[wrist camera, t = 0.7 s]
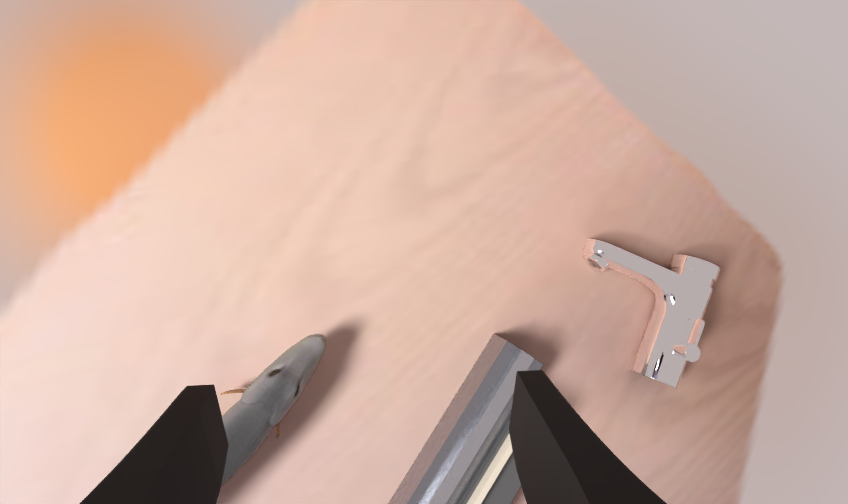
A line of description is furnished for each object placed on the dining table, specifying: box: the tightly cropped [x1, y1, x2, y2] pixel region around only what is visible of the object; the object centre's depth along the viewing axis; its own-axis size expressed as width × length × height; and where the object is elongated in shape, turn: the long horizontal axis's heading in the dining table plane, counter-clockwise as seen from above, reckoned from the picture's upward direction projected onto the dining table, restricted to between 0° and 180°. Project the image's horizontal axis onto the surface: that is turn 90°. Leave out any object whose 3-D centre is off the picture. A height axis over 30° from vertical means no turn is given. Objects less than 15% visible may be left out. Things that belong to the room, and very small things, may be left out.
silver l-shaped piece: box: [583, 239, 720, 388], centre depth 37 cm, size 10×4×9 cm
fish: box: [221, 334, 326, 486], centre depth 31 cm, size 4×21×5 cm, turn 139°
